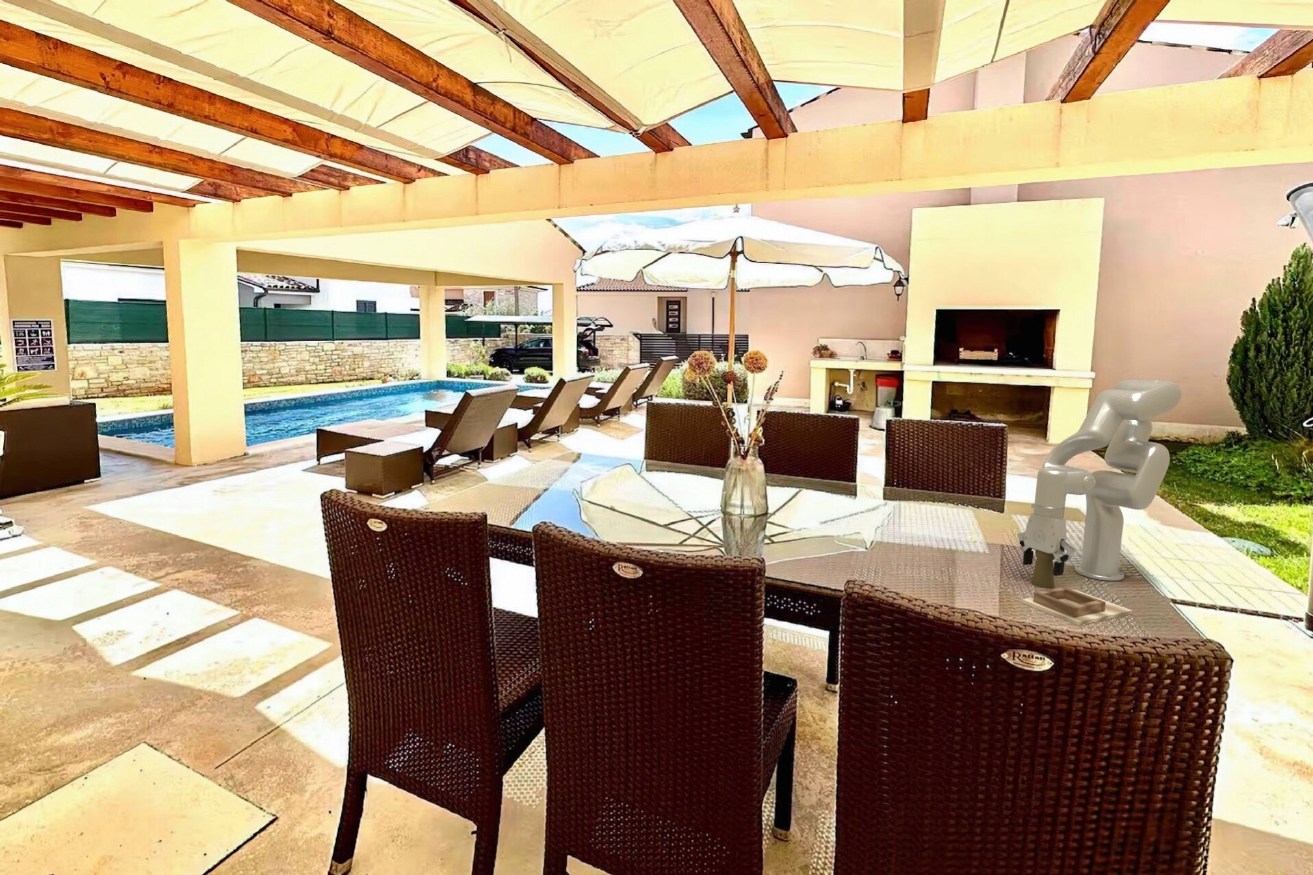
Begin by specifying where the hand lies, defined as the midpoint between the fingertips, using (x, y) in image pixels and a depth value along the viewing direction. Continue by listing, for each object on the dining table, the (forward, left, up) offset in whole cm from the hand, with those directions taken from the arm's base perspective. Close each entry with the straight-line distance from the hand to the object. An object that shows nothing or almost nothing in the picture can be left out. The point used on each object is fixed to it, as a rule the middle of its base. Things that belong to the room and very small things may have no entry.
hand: (1042, 569), depth 196 cm
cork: (-1, 0, -5) cm, 5 cm away
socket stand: (+7, +16, -5) cm, 18 cm away
